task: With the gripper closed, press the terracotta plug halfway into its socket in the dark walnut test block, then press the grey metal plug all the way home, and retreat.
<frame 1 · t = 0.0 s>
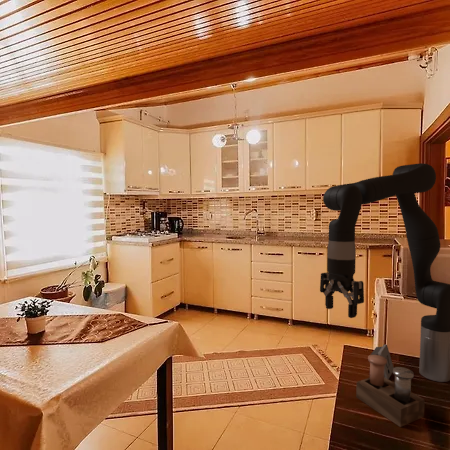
hand: (340, 312, 92), 29 cm above the table, fingers open, 8 cm apart
socket board: (388, 406, 96), on the table
terracotta plug: (377, 370, 100), point 9 cm above the table, slide at 0.0 cm
grey plug: (402, 384, 92), point 9 cm above the table, slide at 0.0 cm
electrical switch: (382, 373, 115), on the table
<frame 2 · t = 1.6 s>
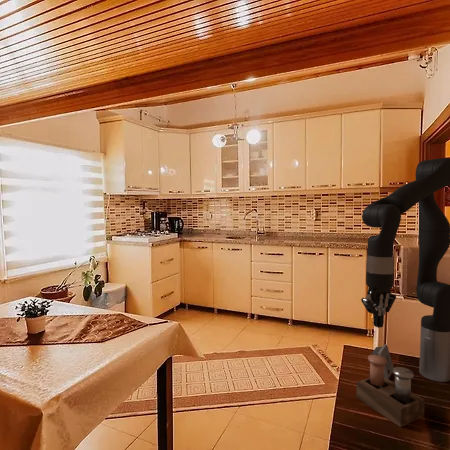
hand: (378, 326, 99), 23 cm above the table, fingers closed
nothing on the table moved.
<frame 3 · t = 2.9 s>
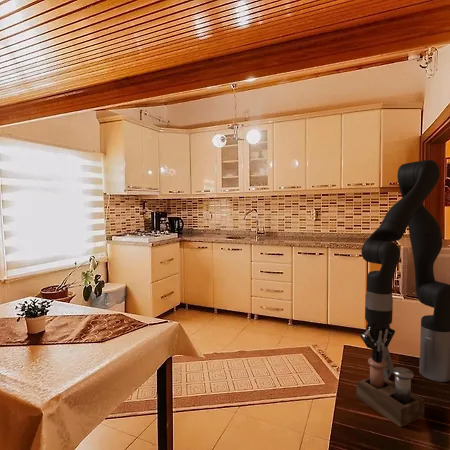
hand: (377, 361, 99), 12 cm above the table, fingers closed
terracotta plug: (377, 373, 100), point 8 cm above the table, slide at 0.9 cm, touching gripper
everything else where it was.
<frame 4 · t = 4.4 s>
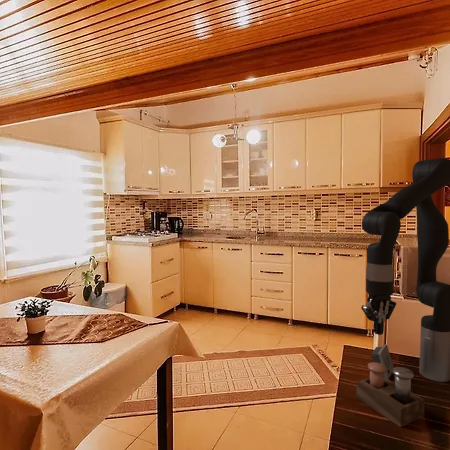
hand: (378, 333, 99), 21 cm above the table, fingers closed
terracotta plug: (376, 378, 100), point 7 cm above the table, slide at 2.5 cm
everything else where it was.
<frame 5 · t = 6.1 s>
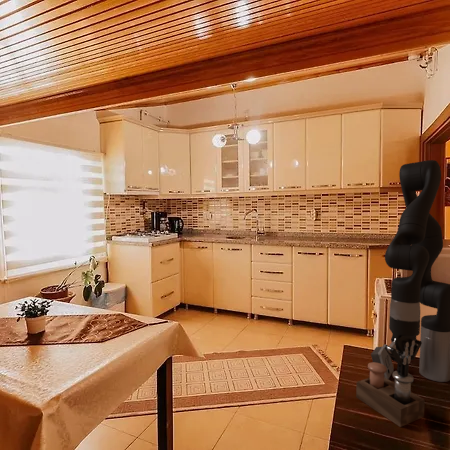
hand: (402, 375, 92), 12 cm above the table, fingers closed
grey plug: (402, 388, 92), point 8 cm above the table, slide at 1.2 cm, touching gripper
everything else where it was.
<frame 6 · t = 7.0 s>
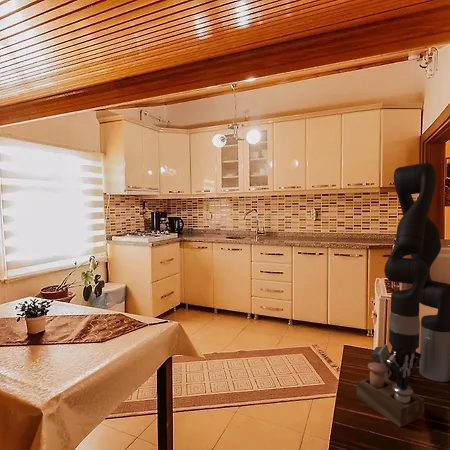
hand: (402, 387, 92), 8 cm above the table, fingers closed
grey plug: (402, 400, 92), point 4 cm above the table, slide at 4.8 cm, touching gripper
everything else where it was.
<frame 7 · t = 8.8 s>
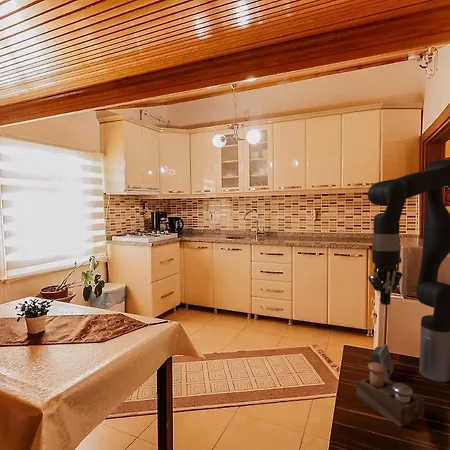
hand: (385, 304, 99), 30 cm above the table, fingers closed
grey plug: (402, 400, 92), point 4 cm above the table, slide at 4.9 cm
everything else where it was.
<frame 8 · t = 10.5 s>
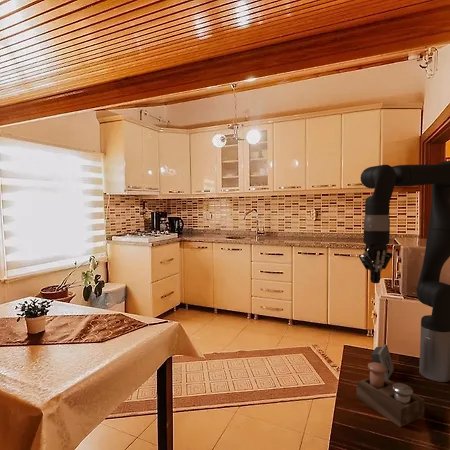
hand: (375, 282, 104), 35 cm above the table, fingers closed
nothing on the table moved.
at the end: terracotta plug slide at 2.5 cm; grey plug slide at 4.9 cm; grey plug touching nothing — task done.
